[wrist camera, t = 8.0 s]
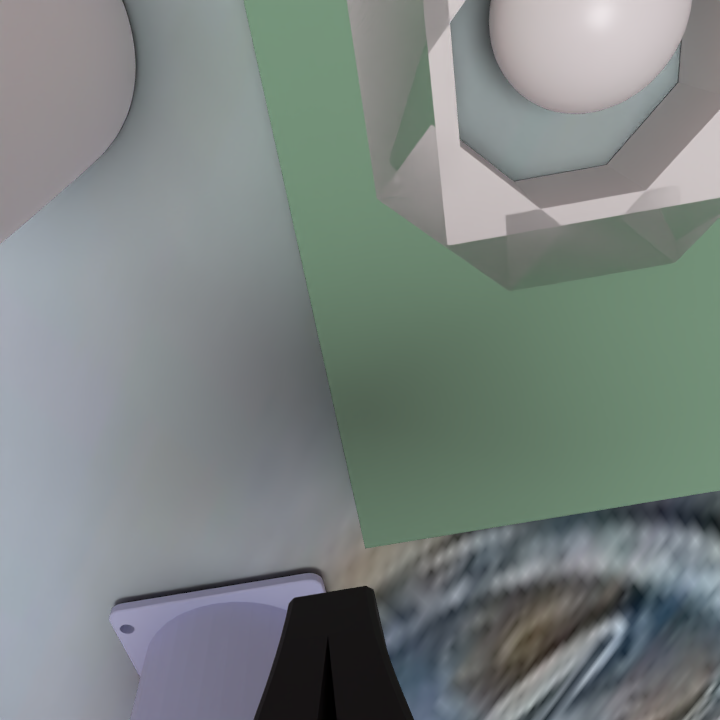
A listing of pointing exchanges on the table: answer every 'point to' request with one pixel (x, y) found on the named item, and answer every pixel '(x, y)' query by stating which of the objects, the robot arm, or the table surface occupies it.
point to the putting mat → (495, 280)
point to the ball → (584, 48)
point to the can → (58, 96)
